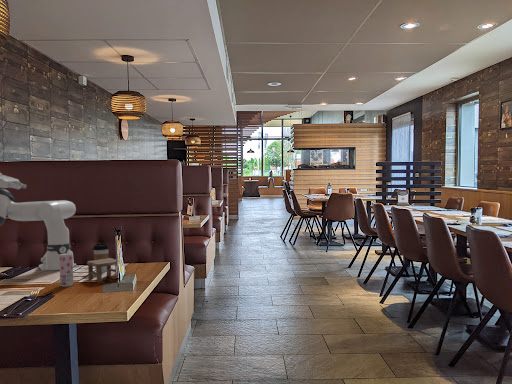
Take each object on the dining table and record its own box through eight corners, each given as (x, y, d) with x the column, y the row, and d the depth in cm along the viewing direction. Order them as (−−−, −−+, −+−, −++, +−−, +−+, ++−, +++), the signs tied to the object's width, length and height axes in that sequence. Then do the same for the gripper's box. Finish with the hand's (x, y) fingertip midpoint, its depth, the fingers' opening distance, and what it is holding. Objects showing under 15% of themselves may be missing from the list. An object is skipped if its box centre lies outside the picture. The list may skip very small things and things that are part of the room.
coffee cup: (112, 269, 223) (111, 243, 222) (105, 273, 214) (104, 245, 214) (98, 269, 223) (97, 243, 223) (90, 273, 215) (89, 245, 215)
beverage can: (71, 283, 193) (71, 252, 193) (74, 285, 188) (73, 254, 188) (59, 285, 190) (58, 253, 189) (61, 287, 185) (60, 255, 185)
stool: (87, 279, 201) (87, 261, 201) (110, 274, 210) (109, 257, 210) (98, 282, 193) (97, 264, 193) (121, 278, 202) (120, 260, 201)
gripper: (-3, 182, 196) (26, 192, 199) (-20, 184, 176) (14, 194, 180) (1, 170, 196) (31, 180, 200) (-15, 171, 176) (19, 181, 180)
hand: (23, 187), depth 190 cm, fingers open, 8 cm apart
